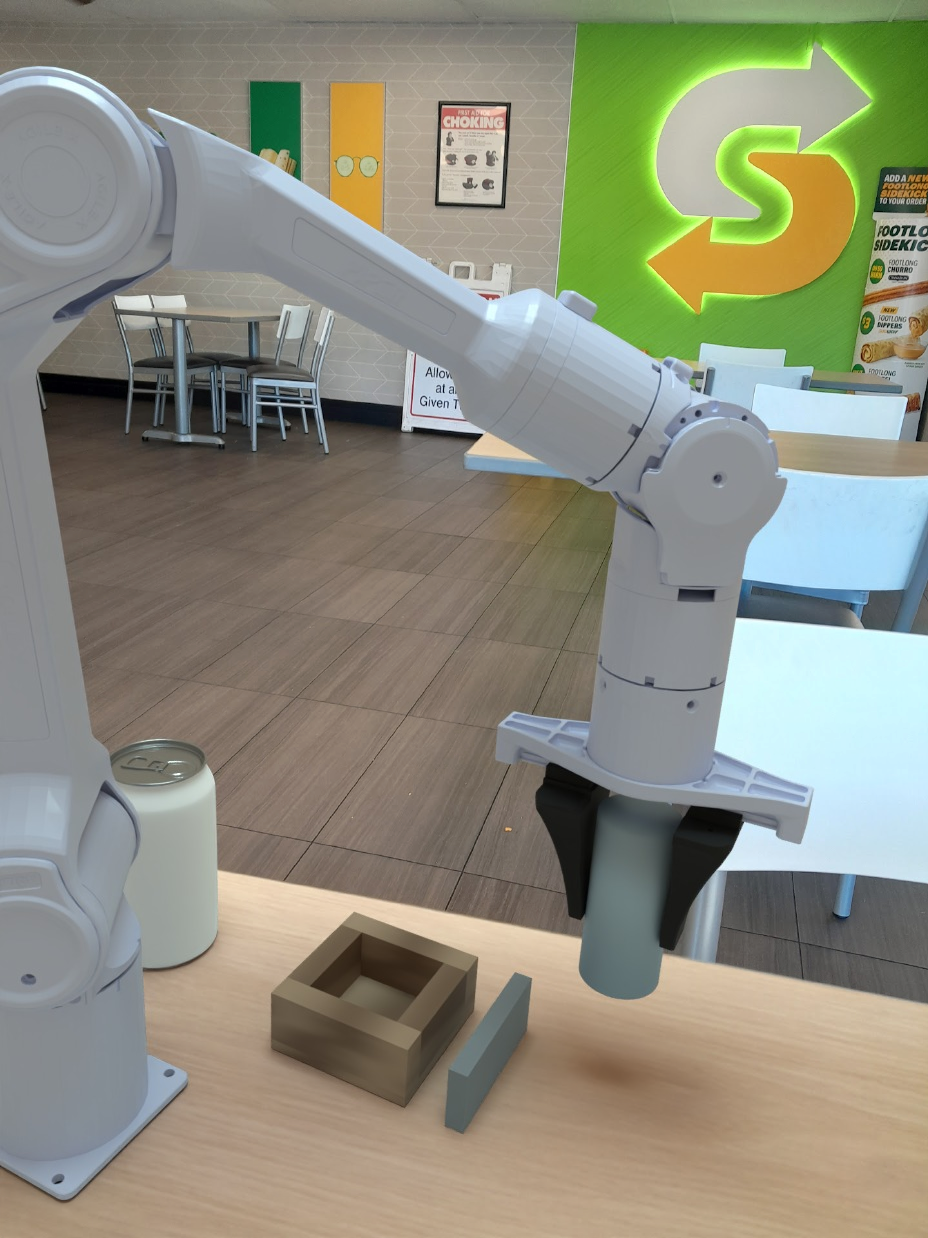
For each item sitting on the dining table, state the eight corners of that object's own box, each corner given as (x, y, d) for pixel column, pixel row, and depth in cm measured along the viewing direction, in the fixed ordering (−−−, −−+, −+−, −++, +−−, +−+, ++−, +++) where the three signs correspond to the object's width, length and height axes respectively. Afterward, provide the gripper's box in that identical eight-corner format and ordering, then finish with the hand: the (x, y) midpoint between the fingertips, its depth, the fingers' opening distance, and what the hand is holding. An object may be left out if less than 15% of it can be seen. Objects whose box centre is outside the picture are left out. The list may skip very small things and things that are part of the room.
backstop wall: (444, 1126, 48) (448, 1069, 47) (509, 1024, 55) (514, 972, 54) (462, 1135, 47) (467, 1077, 46) (526, 1031, 54) (532, 978, 53)
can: (189, 983, 56) (182, 796, 52) (85, 962, 57) (71, 777, 53) (236, 916, 62) (233, 744, 58) (141, 899, 63) (132, 728, 60)
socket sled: (271, 1048, 52) (271, 993, 51) (352, 961, 59) (354, 911, 58) (404, 1107, 49) (407, 1050, 48) (474, 1009, 56) (478, 957, 54)
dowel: (567, 982, 49) (586, 821, 46) (593, 937, 52) (612, 786, 49) (646, 1010, 47) (670, 846, 44) (667, 963, 51) (692, 808, 48)
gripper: (840, 673, 45) (789, 926, 49) (543, 611, 51) (521, 843, 55) (821, 729, 39) (764, 1012, 43) (485, 652, 45) (466, 908, 49)
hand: (625, 923), depth 49 cm, fingers closed on dowel, 4 cm apart
